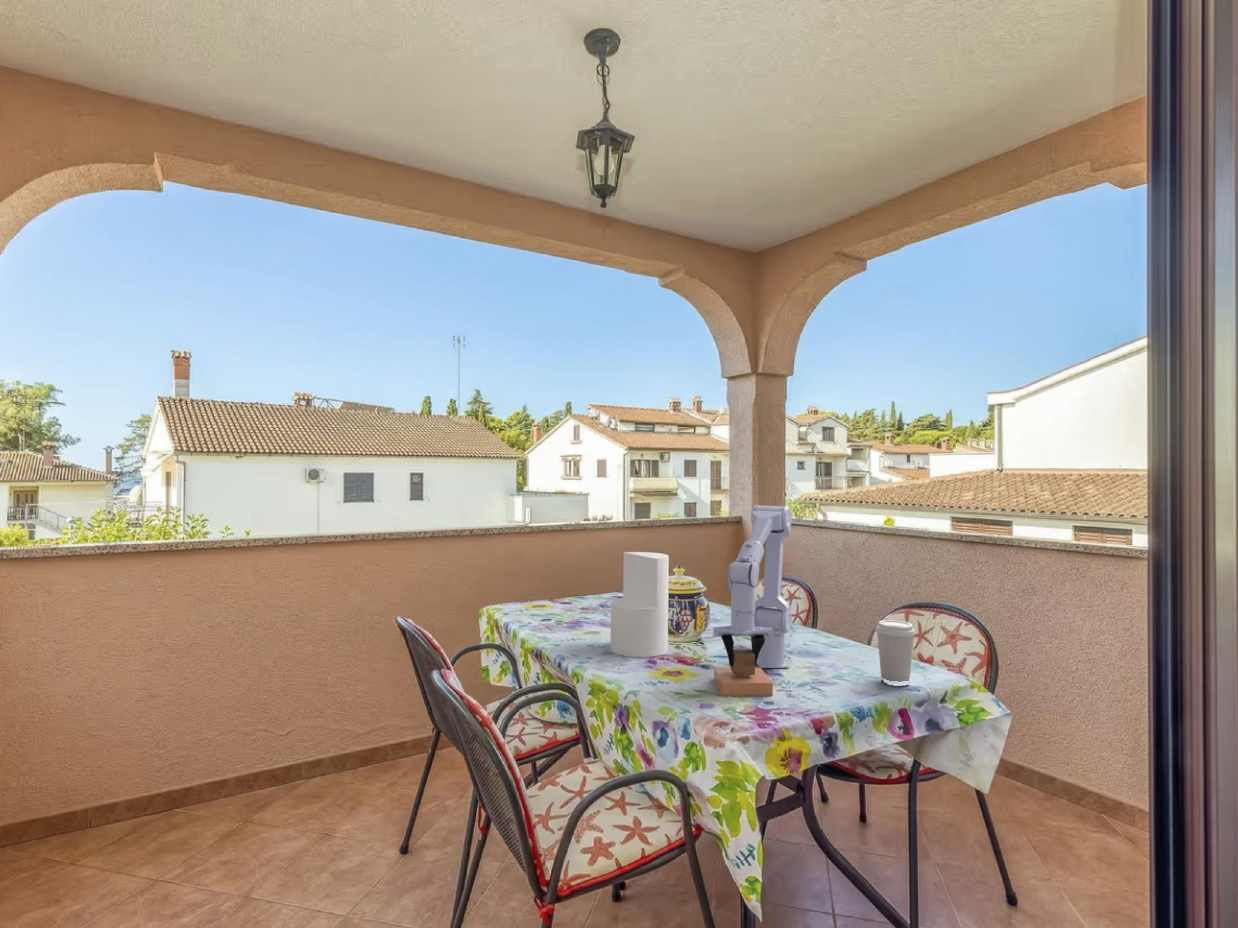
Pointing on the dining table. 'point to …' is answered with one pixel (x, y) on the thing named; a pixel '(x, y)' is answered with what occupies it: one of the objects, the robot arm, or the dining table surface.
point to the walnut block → (743, 662)
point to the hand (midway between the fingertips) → (742, 665)
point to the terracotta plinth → (743, 683)
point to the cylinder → (641, 607)
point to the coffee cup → (895, 649)
